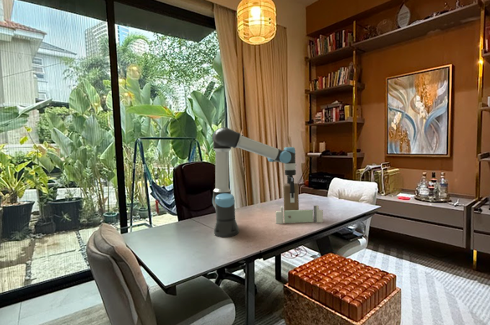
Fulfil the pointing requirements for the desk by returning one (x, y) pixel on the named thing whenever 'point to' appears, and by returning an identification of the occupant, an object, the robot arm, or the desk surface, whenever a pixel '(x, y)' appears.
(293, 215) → the door
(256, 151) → the robot arm
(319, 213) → the l-shaped block
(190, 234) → the desk surface
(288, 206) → the wooden block
